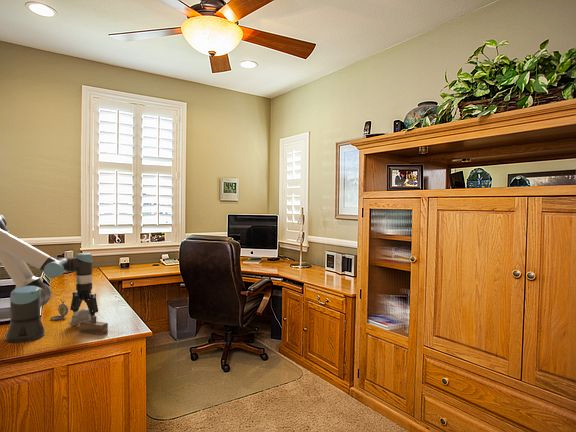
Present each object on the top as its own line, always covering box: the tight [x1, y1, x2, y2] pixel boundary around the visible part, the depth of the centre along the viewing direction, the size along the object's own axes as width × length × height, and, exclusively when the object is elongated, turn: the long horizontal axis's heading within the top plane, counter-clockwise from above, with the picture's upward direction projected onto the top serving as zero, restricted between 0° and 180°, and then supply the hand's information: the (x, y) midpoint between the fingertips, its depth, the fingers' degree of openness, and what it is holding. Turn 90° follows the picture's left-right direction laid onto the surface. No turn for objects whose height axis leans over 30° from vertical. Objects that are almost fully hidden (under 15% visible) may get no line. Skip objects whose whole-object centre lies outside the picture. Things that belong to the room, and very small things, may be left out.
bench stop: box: [79, 315, 109, 336], centre depth 187 cm, size 4×14×8 cm, turn 71°
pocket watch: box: [50, 300, 69, 321], centre depth 209 cm, size 8×8×10 cm
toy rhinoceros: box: [67, 307, 90, 327], centre depth 198 cm, size 7×12×8 cm, turn 120°
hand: (84, 324), depth 198 cm, fingers open, 9 cm apart
